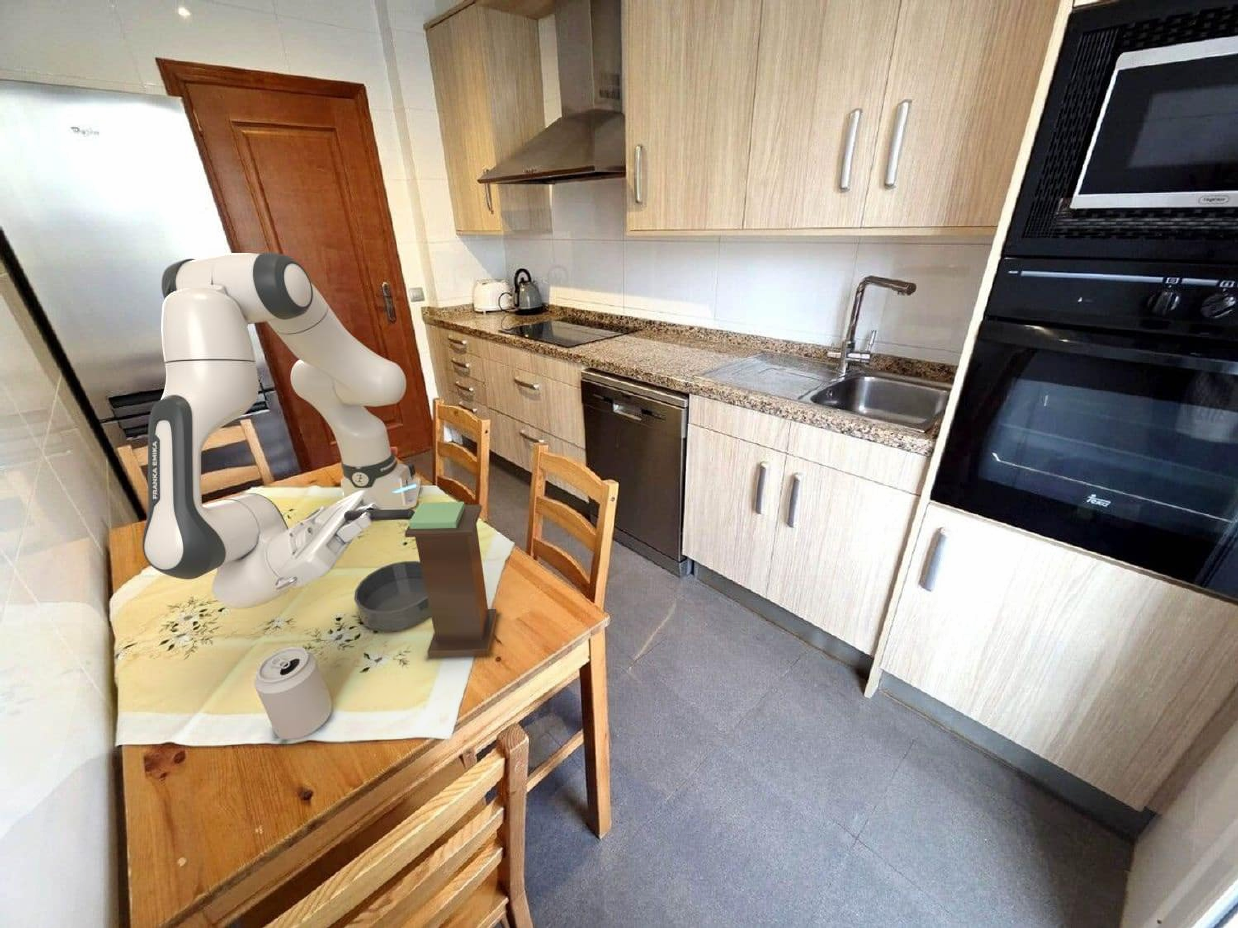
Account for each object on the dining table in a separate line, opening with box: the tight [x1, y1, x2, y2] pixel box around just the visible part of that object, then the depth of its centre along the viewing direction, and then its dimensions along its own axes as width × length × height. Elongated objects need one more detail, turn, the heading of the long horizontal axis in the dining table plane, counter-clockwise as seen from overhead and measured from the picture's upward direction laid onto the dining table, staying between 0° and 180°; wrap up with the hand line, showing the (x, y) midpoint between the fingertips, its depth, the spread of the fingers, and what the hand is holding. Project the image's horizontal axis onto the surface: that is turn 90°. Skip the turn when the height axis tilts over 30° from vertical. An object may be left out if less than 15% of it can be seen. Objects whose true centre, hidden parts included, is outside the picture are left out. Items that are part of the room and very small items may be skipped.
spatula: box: [344, 501, 466, 529], centre depth 79 cm, size 18×6×2 cm, turn 93°
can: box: [254, 645, 333, 740], centre depth 72 cm, size 8×8×12 cm
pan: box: [353, 560, 431, 633], centre depth 97 cm, size 15×15×4 cm
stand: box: [404, 504, 498, 659], centre depth 85 cm, size 10×10×25 cm
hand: (373, 512), depth 78 cm, fingers closed on spatula, 1 cm apart
